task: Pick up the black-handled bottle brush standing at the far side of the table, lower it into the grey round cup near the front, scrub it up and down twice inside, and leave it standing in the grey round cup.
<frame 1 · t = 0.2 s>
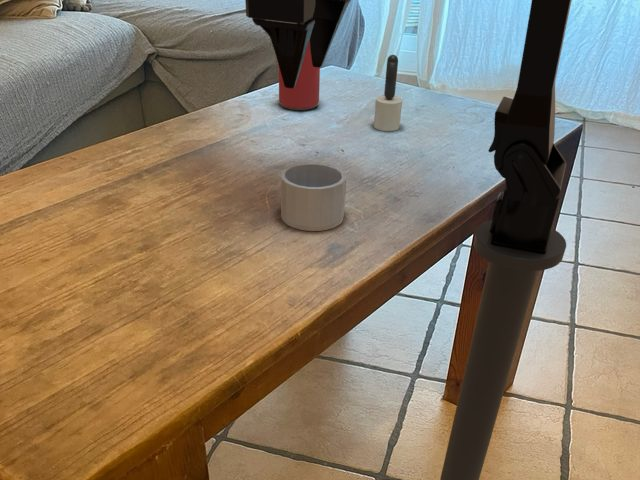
hand: (304, 76, 77), 13 cm above the table, tool pointing down, fingers open, 9 cm apart
grey round cup: (312, 216, 79), on the table
beer can: (298, 106, 109), on the table
brush: (386, 126, 102), on the table
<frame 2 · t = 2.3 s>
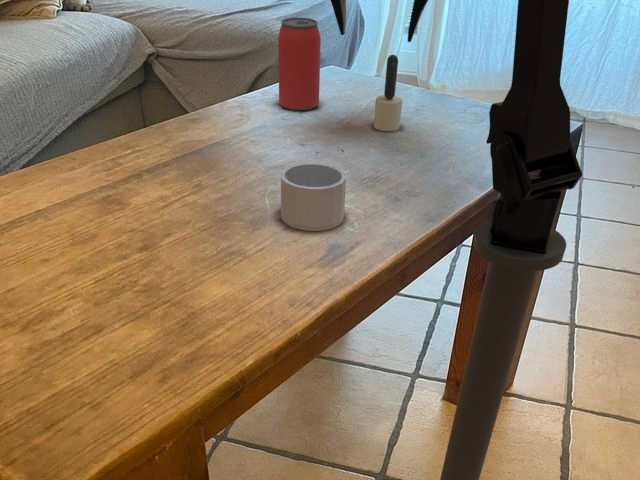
hand: (375, 37, 90), 13 cm above the table, tool pointing down, fingers open, 9 cm apart
nothing on the table moved.
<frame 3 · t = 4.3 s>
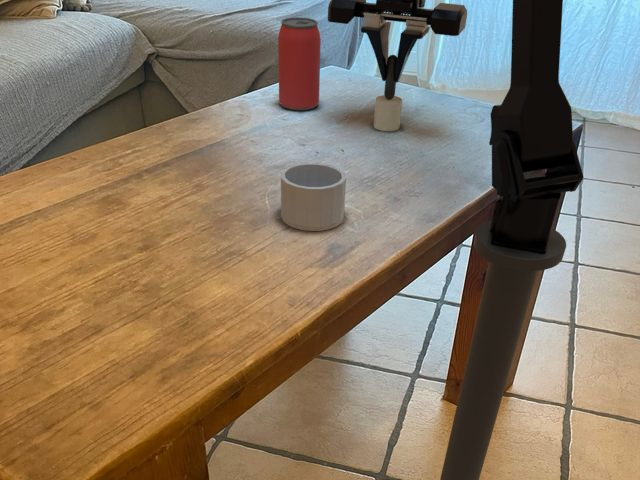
hand: (390, 81, 98), 7 cm above the table, tool pointing down, fingers closed on brush
brush: (386, 126, 102), on the table, touching gripper
everything else where it was.
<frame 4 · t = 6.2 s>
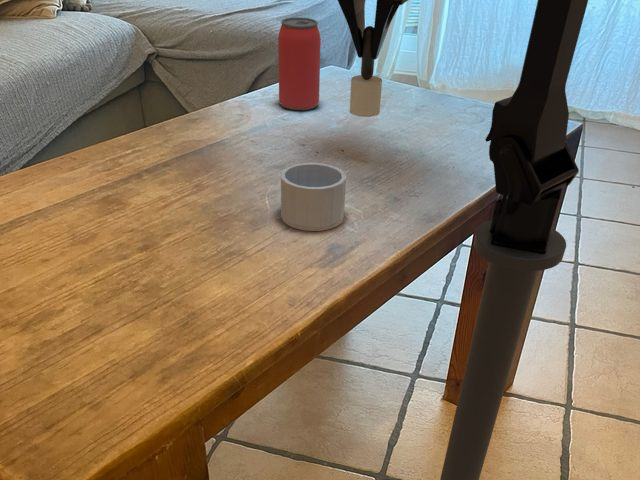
hand: (368, 57, 84), 13 cm above the table, tool pointing down, fingers closed on brush
brush: (364, 112, 88), point 6 cm above the table, touching gripper
everything else where it was.
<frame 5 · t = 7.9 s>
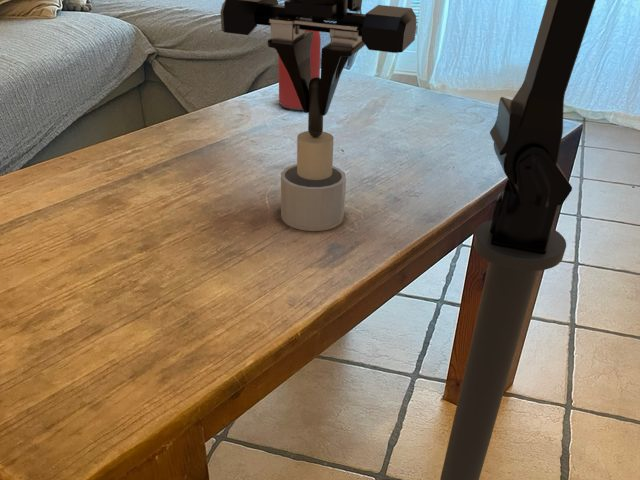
hand: (315, 113, 71), 12 cm above the table, tool pointing down, fingers closed on brush
brush: (314, 173, 75), point 5 cm above the table, touching gripper
everything else where it was.
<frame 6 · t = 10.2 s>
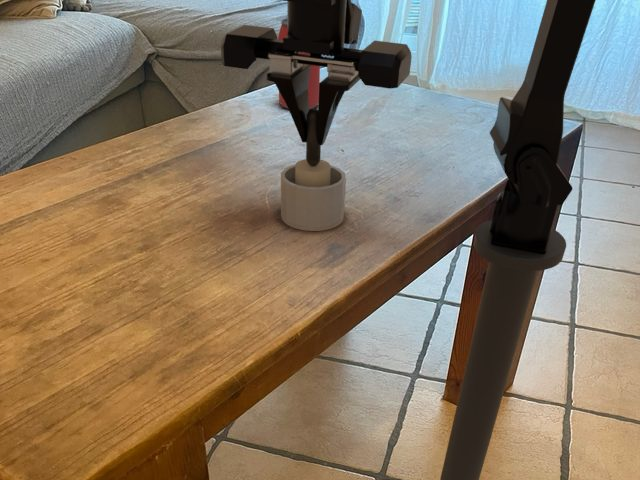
hand: (313, 142, 73), 9 cm above the table, tool pointing down, fingers closed on brush
brush: (312, 199, 77), point 2 cm above the table, touching gripper
everything else where it was.
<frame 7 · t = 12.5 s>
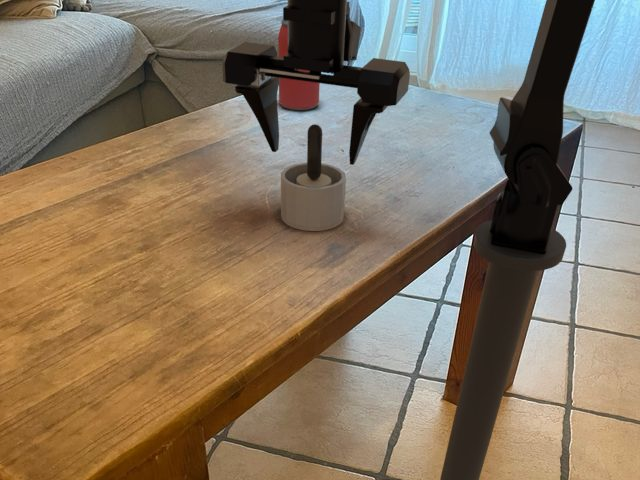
hand: (313, 157, 74), 7 cm above the table, tool pointing down, fingers open, 9 cm apart
brush: (313, 212, 78), resting on grey round cup
everything else where it was.
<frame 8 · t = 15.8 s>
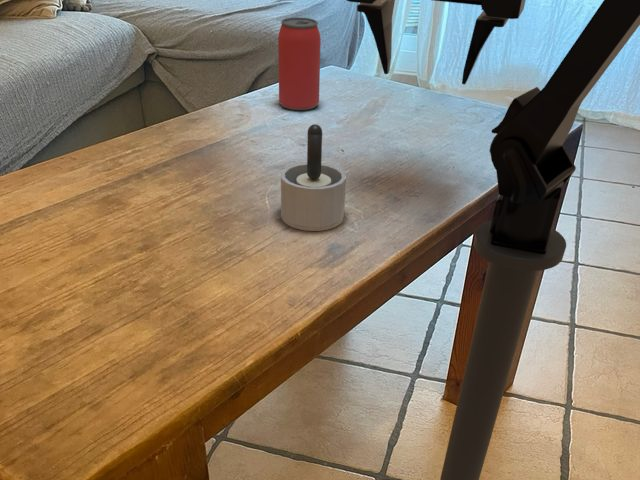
hand: (425, 78, 77), 13 cm above the table, tool pointing down, fingers open, 9 cm apart
nothing on the table moved.
at the end: brush 0.1 cm off-centre in the grey round cup, point 0.5 cm above the grey round cup's base; brush tilted 0°; brush moved 34.0 cm from its start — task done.
